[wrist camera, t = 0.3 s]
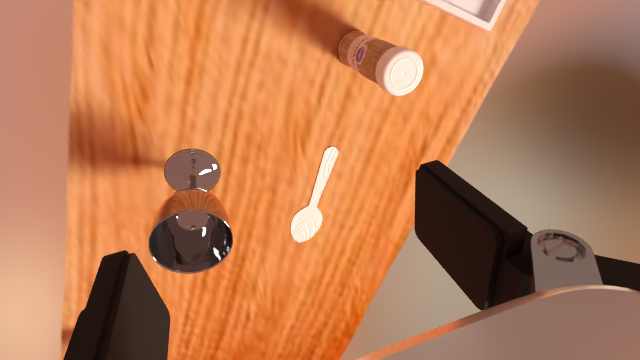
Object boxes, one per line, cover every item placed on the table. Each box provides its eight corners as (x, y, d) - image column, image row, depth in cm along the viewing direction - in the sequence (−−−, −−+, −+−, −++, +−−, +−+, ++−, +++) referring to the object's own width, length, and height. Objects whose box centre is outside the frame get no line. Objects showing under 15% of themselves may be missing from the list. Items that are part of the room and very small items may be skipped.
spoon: (348, 148, 53) (349, 150, 52) (313, 241, 60) (314, 243, 60) (316, 142, 51) (317, 144, 50) (284, 239, 58) (285, 241, 57)
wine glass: (222, 197, 50) (230, 270, 38) (161, 197, 47) (150, 276, 35) (225, 147, 46) (235, 210, 34) (160, 144, 44) (146, 211, 31)
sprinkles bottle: (338, 29, 43) (388, 48, 32) (372, 31, 45) (430, 50, 34) (334, 66, 45) (379, 96, 34) (366, 67, 47) (419, 97, 36)
